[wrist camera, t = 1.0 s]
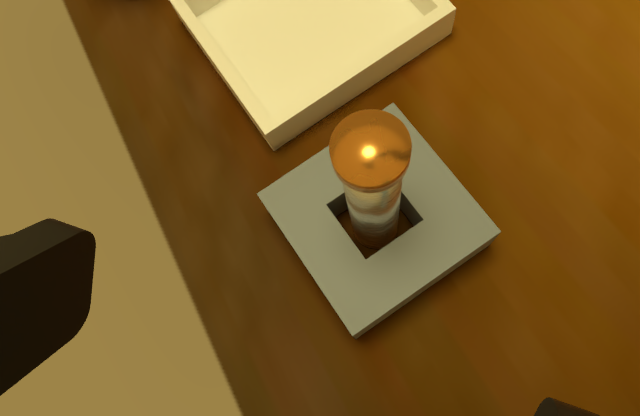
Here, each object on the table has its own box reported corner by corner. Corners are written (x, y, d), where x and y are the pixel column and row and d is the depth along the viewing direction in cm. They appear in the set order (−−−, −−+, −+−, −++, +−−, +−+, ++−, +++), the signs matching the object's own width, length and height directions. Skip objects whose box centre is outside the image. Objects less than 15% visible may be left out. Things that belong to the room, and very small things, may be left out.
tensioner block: (392, 126, 42) (393, 102, 38) (489, 245, 38) (501, 231, 34) (268, 209, 41) (256, 193, 37) (355, 339, 37) (352, 336, 34)
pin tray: (343, -82, 49) (341, -112, 46) (451, 33, 44) (456, 8, 41) (181, 21, 47) (167, -3, 44) (273, 151, 42) (265, 134, 39)
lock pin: (381, 192, 40) (379, 94, 26) (412, 232, 39) (428, 154, 25) (338, 221, 40) (313, 138, 26) (368, 262, 39) (359, 200, 24)
